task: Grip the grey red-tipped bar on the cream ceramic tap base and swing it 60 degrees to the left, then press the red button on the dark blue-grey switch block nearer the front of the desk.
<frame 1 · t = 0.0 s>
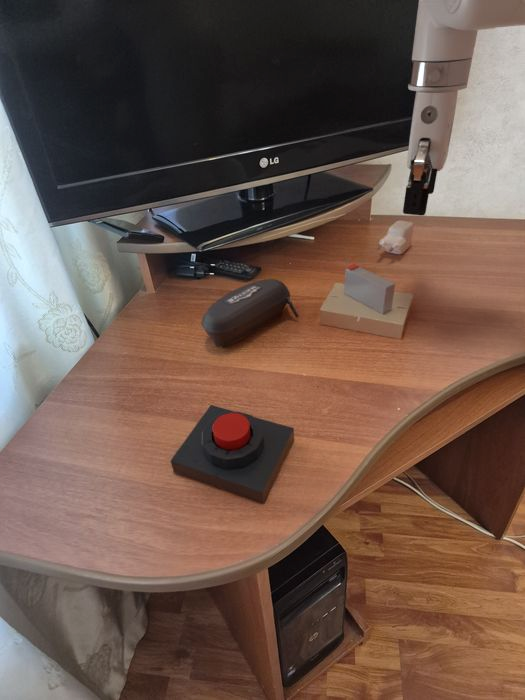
hand: (418, 202, 69), 19 cm above the table, tool pointing down, fingers open, 9 cm apart
tap base: (365, 316, 78), on the table
switch block: (235, 455, 55), on the table
glasses case: (250, 329, 77), on the table
button: (231, 431, 52), point 4 cm above the table, slide at 0.1 cm
power adapter: (392, 254, 96), on the table
grey red-tipped bar: (368, 288, 74), point 6 cm above the table, hinge at -30.0°
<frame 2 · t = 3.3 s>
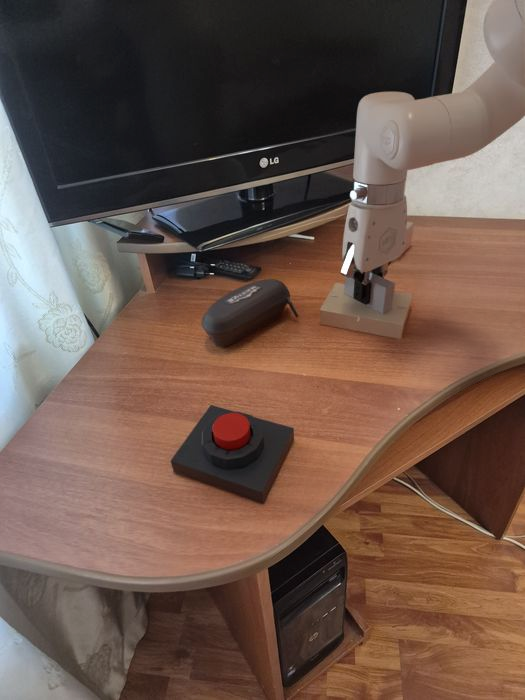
hand: (367, 297, 75), 4 cm above the table, tool pointing down, fingers closed on grey red-tipped bar, 2 cm apart
grey red-tipped bar: (368, 288, 74), point 6 cm above the table, hinge at -30.0°, touching gripper
everything else where it was.
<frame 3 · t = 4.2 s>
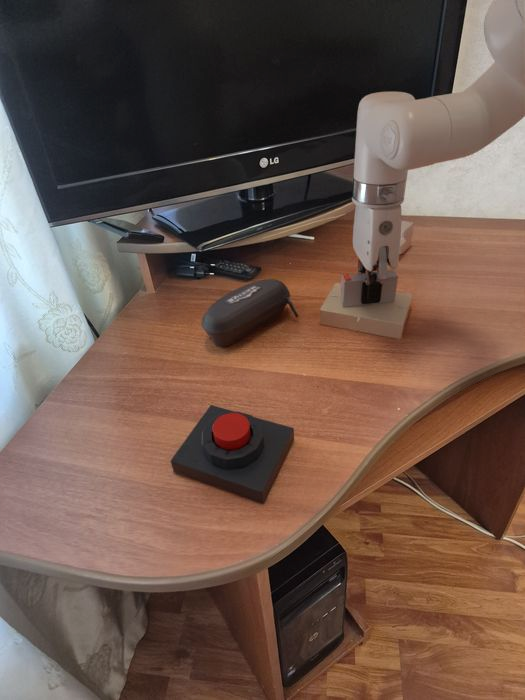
hand: (367, 297, 75), 4 cm above the table, tool pointing down, fingers closed on grey red-tipped bar, 2 cm apart
grey red-tipped bar: (368, 288, 74), point 6 cm above the table, hinge at 29.3°, touching gripper
everything else where it was.
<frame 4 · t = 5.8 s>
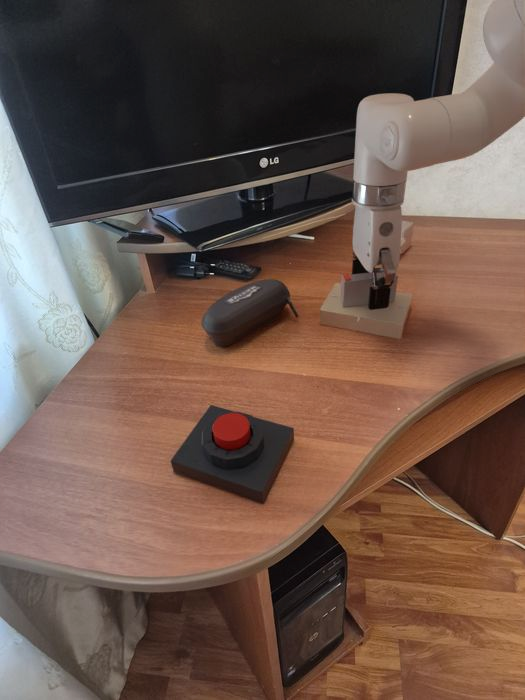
hand: (368, 293, 75), 5 cm above the table, tool pointing down, fingers open, 9 cm apart
grey red-tipped bar: (368, 288, 74), point 6 cm above the table, hinge at 29.3°
everything else where it was.
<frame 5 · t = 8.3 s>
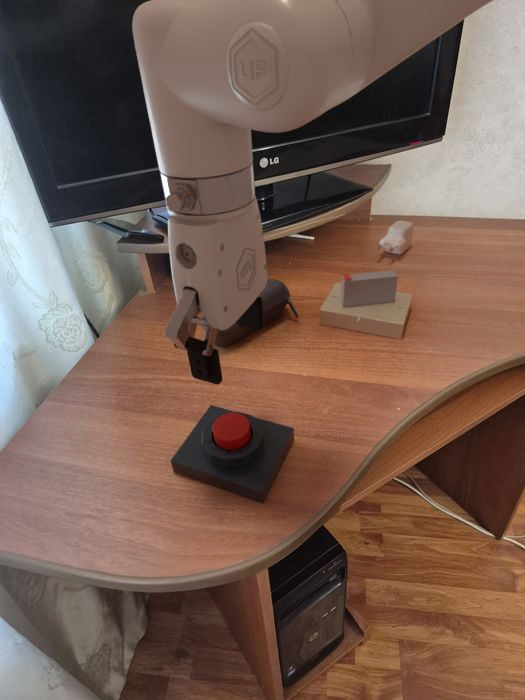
hand: (230, 351, 47), 15 cm above the table, tool pointing down, fingers open, 9 cm apart
nothing on the table moved.
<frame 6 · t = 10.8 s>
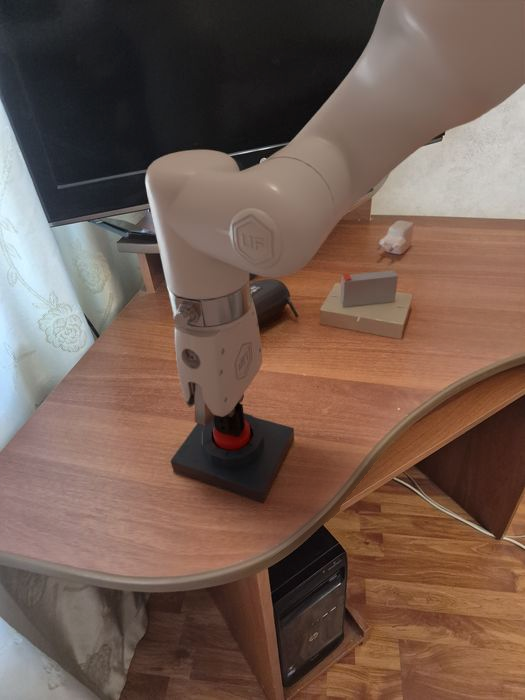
hand: (230, 429, 52), 5 cm above the table, tool pointing down, fingers closed
button: (232, 434, 53), point 4 cm above the table, slide at -0.5 cm, touching gripper
everything else where it was.
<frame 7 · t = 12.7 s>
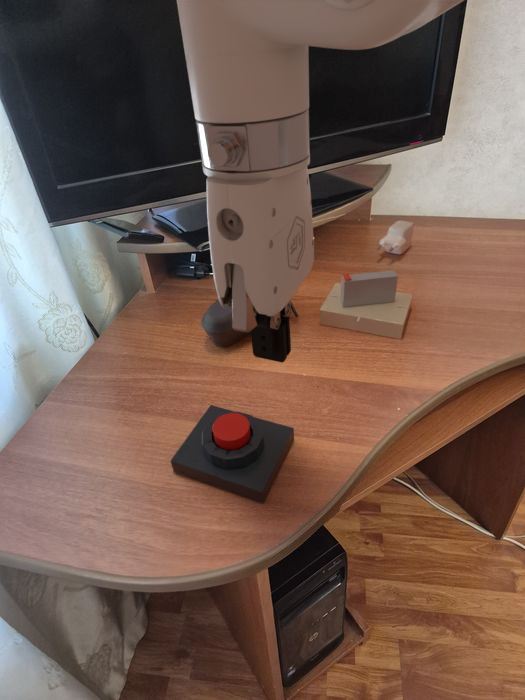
hand: (272, 354, 41), 18 cm above the table, tool pointing down, fingers closed
button: (231, 431, 52), point 4 cm above the table, slide at 0.1 cm
everything else where it was.
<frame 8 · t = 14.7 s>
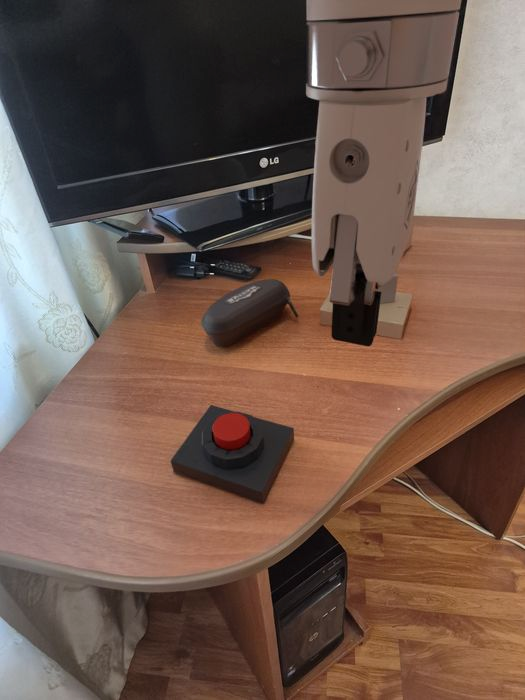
hand: (353, 337, 35), 23 cm above the table, tool pointing down, fingers closed
nothing on the table moved.
at the end: grey red-tipped bar at +29° (first picture: -30°); button pushed in 1.1 cm at the most during the clip, back to where it started at the end; button slide at 0.1 cm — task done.
